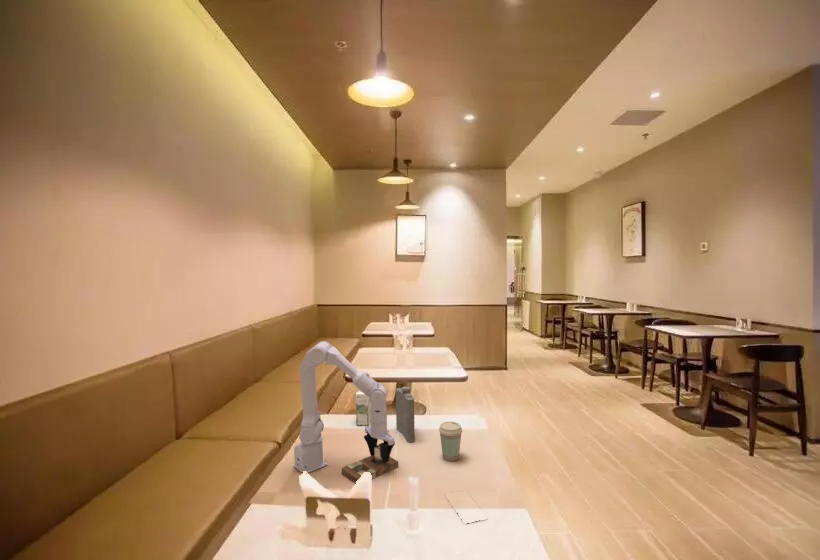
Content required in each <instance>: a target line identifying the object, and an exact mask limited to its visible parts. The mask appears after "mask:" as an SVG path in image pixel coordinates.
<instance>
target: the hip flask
mask: <svg viewBox="0 0 820 560" xmlns="http://www.w3.org/2000/svg"><path fill="white" fill-rule="evenodd" d="M395 407H396V408H395V410H396V411H395V413H396V414H395V415H396V416H395V417H396V418H395V419H396V420H395V421H396V427H395V428H396V431H398V432H399V433H401V435H403V438H404V439H405V440H406V443H409V444H412V443H415V440H416V439H415V430H416V429H415V398H414V396H413V395H412V394H411V386H402V387H397V388H396V389H395Z"/></svg>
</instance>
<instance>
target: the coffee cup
mask: <svg viewBox="0 0 820 560" xmlns="http://www.w3.org/2000/svg"><path fill="white" fill-rule="evenodd" d="M438 432H439V435H440V444H441V452H442V458H443V459H444V460H445V461H448V462H455V461H457V460H459V459H460V451H461V442H462V441H461V439H462V433H463V427H462V426H461V424H460V423H459V422H456V421H444V422H442V423H440V426H439V428H438Z"/></svg>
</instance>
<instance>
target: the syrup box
mask: <svg viewBox="0 0 820 560" xmlns="http://www.w3.org/2000/svg"><path fill="white" fill-rule="evenodd" d="M370 408H371V403H370V401H369V397H368V396H366V395H365V394H364V393H363V392H362V391H360V390H359V389H358V390H357V391H356V393H355V418H356V419H355V420H356V421H355V422H356V423H355V424H356V426H360V425H366V426H365V427H367V426H370V425H371V422H370V421H371V412H370Z"/></svg>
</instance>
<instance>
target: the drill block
mask: <svg viewBox="0 0 820 560" xmlns="http://www.w3.org/2000/svg"><path fill="white" fill-rule="evenodd" d="M397 468H399V461H398V460H397V459H394V458H393V457H392V456H390V457H389V461H388V462H386V463H383V464H381V465H377V464H375V455H372V456H371V455H370V456H367V457H364V458H362V459H359V460H358V461H355V462H352V463H350V464H347V465H345V466H343V467H341V474H342V475H343V476H344V477H346V478H348V479H349V480H350V481H352V482H353V483H355V482H356V481H357V480H358V479H359V478H360V477H361V475H362V474H363V473H364V472H370V473H371V475H372V479H371V480H373V479H376V478H377V477H379V476H382V475H384V474H386V473H388V472H390V471H393V470H394V469H397ZM360 471H363V472H360ZM359 472H360V473H359ZM355 484H356V483H355Z"/></svg>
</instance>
